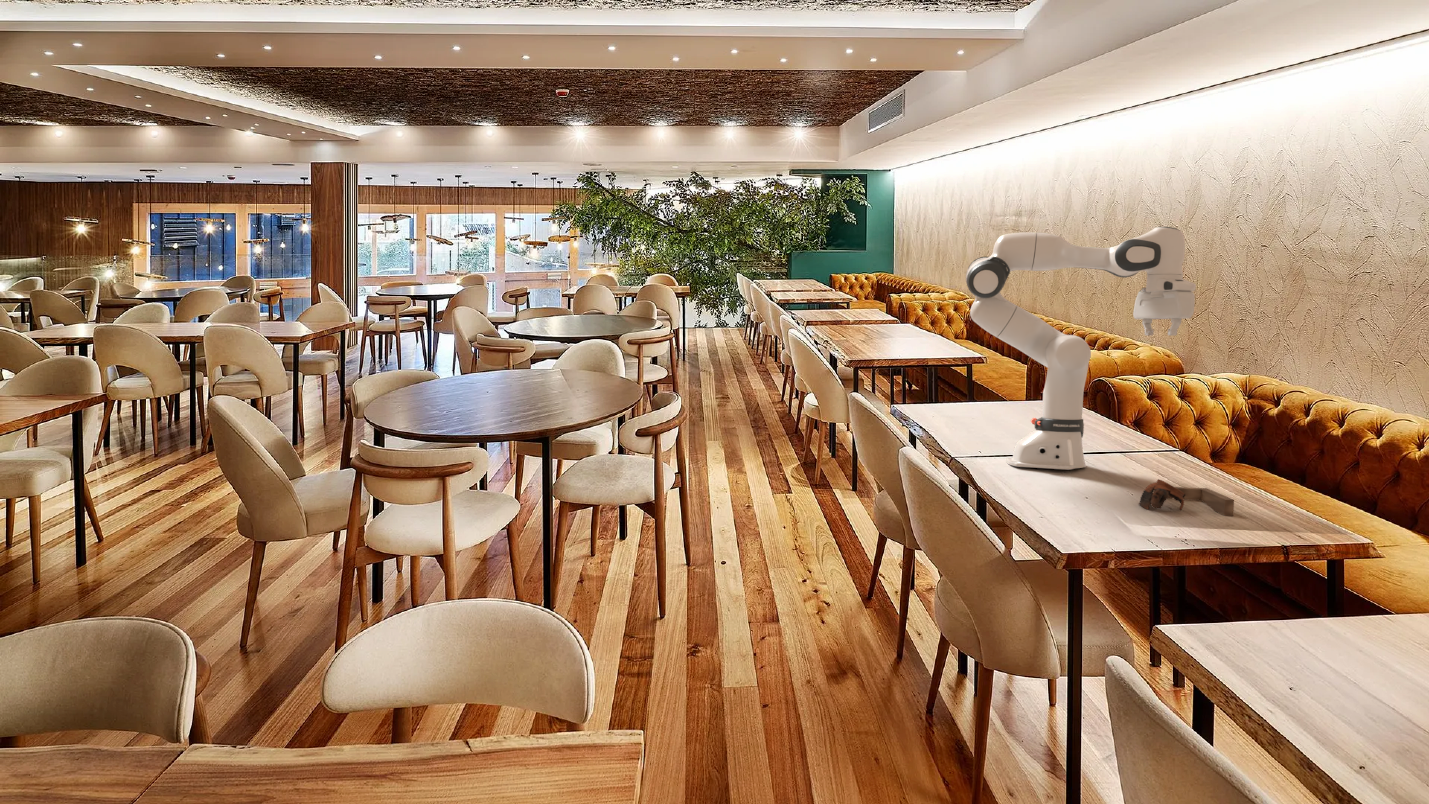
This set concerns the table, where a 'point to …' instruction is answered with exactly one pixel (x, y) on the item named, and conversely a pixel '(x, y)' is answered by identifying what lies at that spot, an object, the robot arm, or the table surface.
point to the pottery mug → (1160, 495)
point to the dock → (1209, 499)
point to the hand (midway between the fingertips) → (1160, 335)
